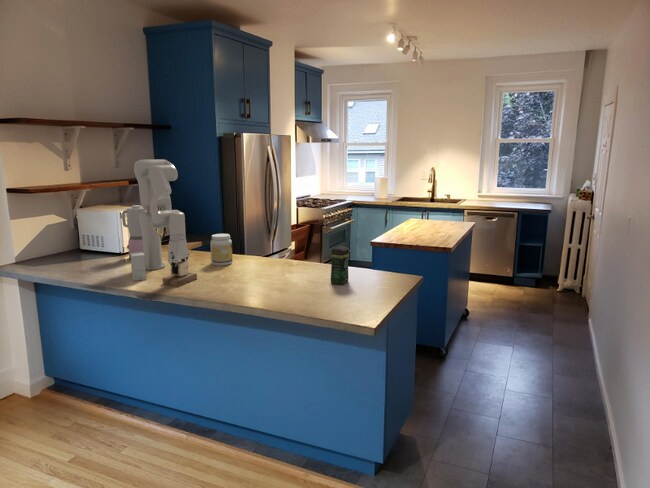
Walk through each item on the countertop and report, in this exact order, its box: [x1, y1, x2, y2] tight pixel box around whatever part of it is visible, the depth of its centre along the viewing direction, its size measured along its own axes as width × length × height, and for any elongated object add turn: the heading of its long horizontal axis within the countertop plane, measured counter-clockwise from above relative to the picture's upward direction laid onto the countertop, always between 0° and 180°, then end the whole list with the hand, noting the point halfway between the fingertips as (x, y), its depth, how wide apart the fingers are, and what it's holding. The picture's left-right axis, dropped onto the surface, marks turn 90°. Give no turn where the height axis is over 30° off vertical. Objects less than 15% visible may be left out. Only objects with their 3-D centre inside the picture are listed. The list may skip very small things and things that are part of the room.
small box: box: [130, 252, 147, 282], centre depth 244 cm, size 8×6×13 cm
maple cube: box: [169, 260, 190, 276], centre depth 239 cm, size 6×6×6 cm
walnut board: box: [162, 272, 198, 287], centre depth 240 cm, size 10×14×3 cm
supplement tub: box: [209, 233, 233, 267], centre depth 277 cm, size 12×12×17 cm
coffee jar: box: [330, 245, 350, 285], centre depth 239 cm, size 10×8×19 cm
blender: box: [121, 204, 148, 260], centre depth 288 cm, size 16×12×32 cm
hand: (179, 271), depth 240 cm, fingers closed on maple cube, 6 cm apart
